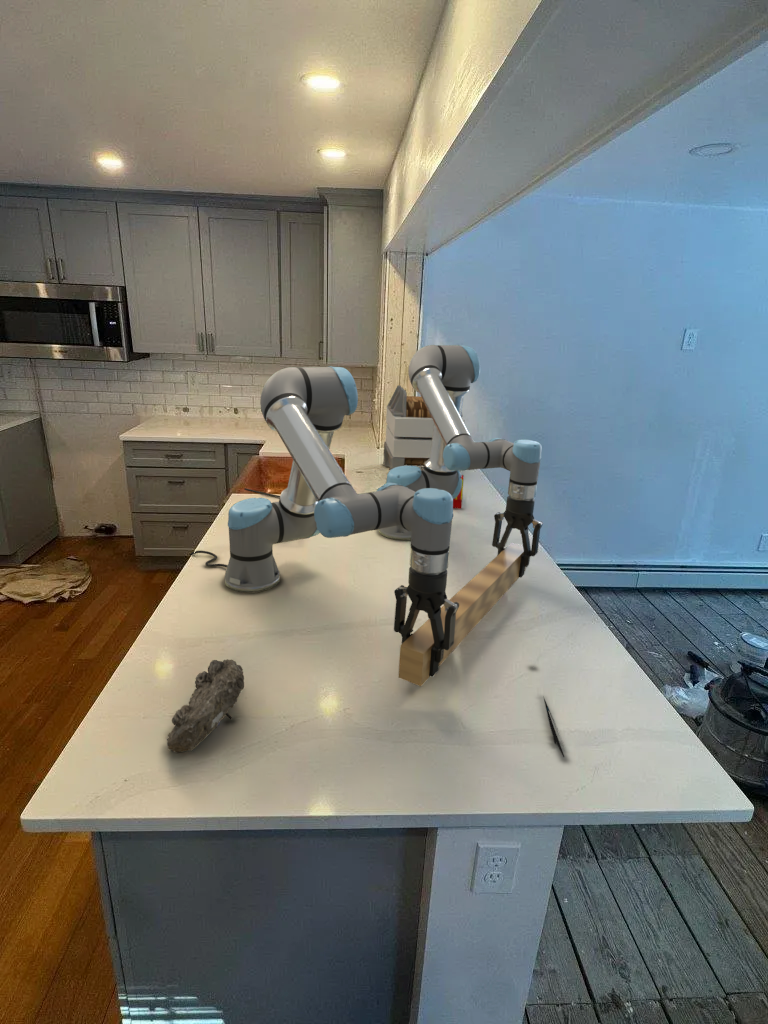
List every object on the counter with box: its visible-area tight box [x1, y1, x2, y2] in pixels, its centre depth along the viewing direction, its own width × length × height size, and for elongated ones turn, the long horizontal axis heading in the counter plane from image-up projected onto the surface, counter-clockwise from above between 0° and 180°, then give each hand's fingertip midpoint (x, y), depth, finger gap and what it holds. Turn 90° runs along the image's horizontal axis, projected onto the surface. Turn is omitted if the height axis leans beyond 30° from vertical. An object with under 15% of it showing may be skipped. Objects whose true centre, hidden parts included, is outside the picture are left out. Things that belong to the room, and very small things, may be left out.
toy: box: [453, 474, 465, 510], centre depth 239 cm, size 12×13×30 cm
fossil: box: [166, 658, 245, 754], centre depth 106 cm, size 22×10×15 cm
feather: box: [533, 666, 565, 758], centre depth 114 cm, size 2×28×2 cm
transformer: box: [383, 384, 465, 474], centre depth 268 cm, size 34×33×41 cm
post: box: [398, 542, 527, 687], centre depth 140 cm, size 66×5×8 cm, turn 149°
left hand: (420, 668), depth 119 cm, fingers closed on post, 5 cm apart
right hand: (511, 572), depth 164 cm, fingers closed on post, 5 cm apart
